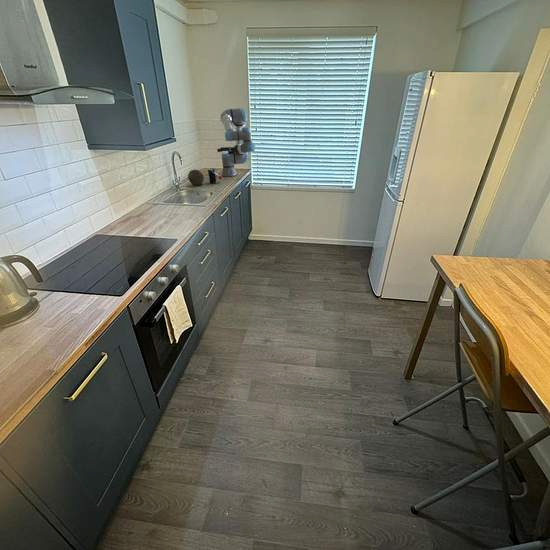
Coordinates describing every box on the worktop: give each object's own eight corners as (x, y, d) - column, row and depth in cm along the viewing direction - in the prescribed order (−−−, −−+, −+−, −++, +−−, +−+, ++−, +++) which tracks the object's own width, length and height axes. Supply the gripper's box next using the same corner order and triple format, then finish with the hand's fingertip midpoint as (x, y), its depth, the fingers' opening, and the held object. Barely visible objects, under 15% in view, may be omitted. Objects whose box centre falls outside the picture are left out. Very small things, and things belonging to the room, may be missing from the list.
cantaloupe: (189, 184, 284) (186, 168, 276) (204, 183, 286) (201, 167, 278) (189, 188, 272) (186, 172, 264) (205, 187, 275) (202, 170, 267)
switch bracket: (220, 182, 287) (218, 168, 280) (216, 184, 280) (214, 170, 273) (210, 182, 290) (208, 168, 283) (206, 184, 283) (203, 170, 276)
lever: (222, 179, 282) (223, 176, 279) (220, 180, 279) (221, 177, 276) (210, 171, 281) (211, 168, 279) (208, 172, 278) (209, 169, 276)
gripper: (230, 151, 250) (213, 154, 262) (249, 155, 270) (232, 157, 282) (229, 141, 248) (212, 145, 261) (249, 146, 268) (232, 149, 280)
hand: (223, 151), depth 271 cm, fingers open, 13 cm apart
